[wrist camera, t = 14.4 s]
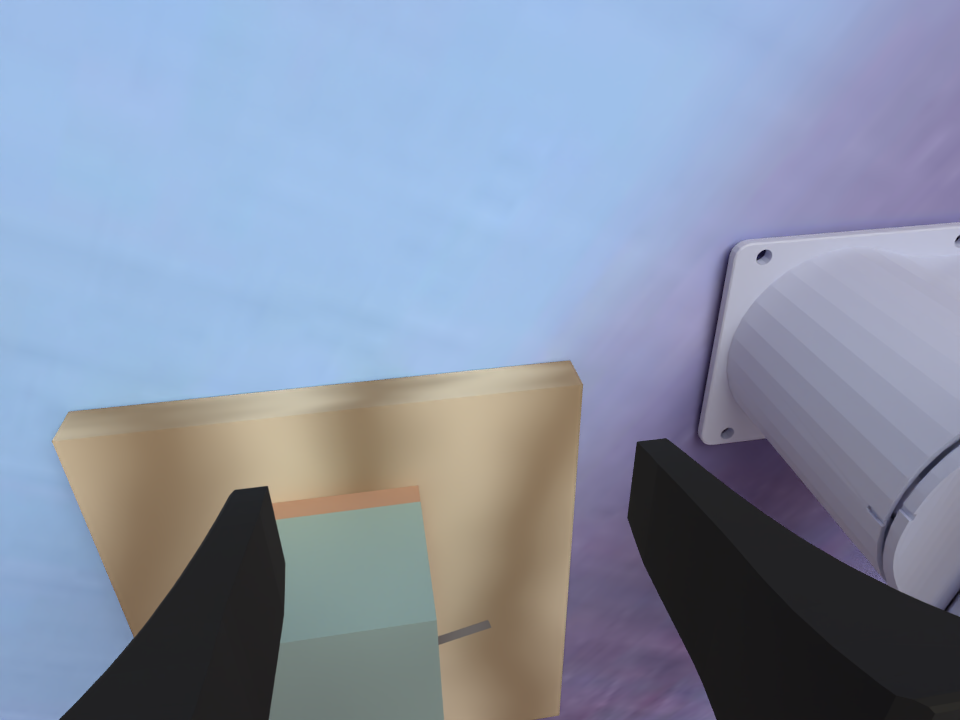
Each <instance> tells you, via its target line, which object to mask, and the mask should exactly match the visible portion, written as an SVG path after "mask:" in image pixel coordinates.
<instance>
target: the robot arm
mask: <svg viewBox="0 0 960 720" xmlns="http://www.w3.org/2000/svg"><path fill="white" fill-rule="evenodd" d="M959 235H960V222H956V223H944V224H932V225H920V226H907V227H895V228H883V229H871V230H859V231H846V232H834V233H822V234H810V235H798V236H785V237H773V238H761V239H749V240H744V241H741V242H739V243H738V244H736V245H735V246H734V248H733V249H732V250H731V253H730V256H729V262H728V267H727V273H726V278H725V284H724V289H723V295H722V300H721V306H720V311H719V317H718V322H717V328H716V334H715V339H714V345H713V350H712V356H711V361H710V367H709V372H708V378H707V383H706V389H705V394H704V400H703V405H702V411H701V417H700V422H699V428H698V435H699V437H700V438H701V440H702V441H703V443H705V444H707V445H716V444H724V443H732V442H741V441H749V440H757V439H765V438H766V439H767V440H768V441H769V442H770V443H771V445H772V446H773V447H774V448H775V449H776V451H777V452H778V453H779V454H780V455H781V457H782V458H783V459H784V460H785V461H786V463H787V464H788V465H789V466H790V467H791V469H792V470H793V471H794V472H795V473H796V475H797V476H798V477H799V478H800V479H801V481H802V482H803V483H804V484H805V485H806V487H807V488H808V489H809V490H810V491H811V493H812V494H813V495H814V496H815V497H816V499H817V500H818V501H819V502H820V503H821V505H822V506H823V507H824V508H825V509H826V511H827V512H828V513H829V514H830V515H831V517H832V518H833V519H834V520H835V522H836V523H837V524H838V525H839V526H840V528H841V529H842V530H843V531H844V532H845V534H846V535H847V536H848V537H849V538H850V540H851V541H852V542H853V543H854V544H855V546H856V547H857V548H858V549H859V550H860V552H861V553H862V554H863V555H864V556H865V558H866V559H867V560H868V561H869V562H870V564H871V565H872V566H873V567H874V568H875V570H876V571H877V572H878V573H879V574H880V576H881V577H882V578H883V579H884V580H885V582H886V583H887V585H886V584H884V583H882V582H880V581H878V580H876V579H874V578H872V577H870V576H868V575H866V574H864V573H862V572H860V571H858V570H856V569H854V568H852V567H850V566H849V565H847V564H845V563H843V562H841V561H839V560H838V559H836V558H834V557H833V556H831V555H829V554H827V553H826V552H824V551H822V550H820V549H819V548H817V547H815V546H813V545H812V544H810V543H808V542H807V541H805V540H804V539H802V538H800V537H799V536H797V535H796V534H794V533H793V532H791V531H790V530H788V529H787V528H785V527H784V526H782V525H781V524H779V523H778V522H776V521H775V520H773V519H772V518H770V517H769V516H767V515H766V514H764V513H763V512H762V511H760V510H759V509H757V508H756V507H754V506H753V505H752V504H750V503H749V502H748V501H746V500H745V499H743V498H742V497H741V496H739V495H738V494H737V493H735V492H734V491H733V490H731V489H730V488H729V487H728V486H726V485H725V484H724V483H722V482H721V481H720V480H718V479H717V478H716V477H715V476H713V475H712V474H711V473H710V472H708V471H707V470H706V469H705V468H703V467H702V466H701V465H699V464H698V463H697V462H696V461H694V460H693V459H692V458H691V457H689V456H688V455H687V454H686V453H684V452H683V451H682V450H681V449H679V448H678V447H677V446H676V445H674V444H673V443H672V442H670V441H669V440H668V439H666V438H664V439H656V440H648V441H639V442H637V446H636V453H635V461H634V469H633V477H632V485H631V493H630V501H629V509H628V517H627V518H628V521H629V524H630V527H631V530H632V533H633V536H634V538H635V541H636V544H637V547H638V550H639V552H640V555H641V558H642V561H643V563H644V565H645V567H646V569H647V572H648V574H649V576H650V578H651V580H652V582H653V584H654V586H655V588H656V590H657V592H658V594H659V596H660V598H661V600H662V602H663V604H664V606H665V608H666V610H667V611H668V613H669V615H670V617H671V619H672V621H673V623H674V625H675V627H676V629H677V631H678V633H679V635H680V637H681V639H682V641H683V643H684V645H685V647H686V649H687V651H688V653H689V655H690V657H691V659H692V661H693V663H694V665H695V667H696V670H697V672H698V674H699V676H700V678H701V681H702V683H703V686H704V688H705V691H706V693H707V696H708V698H709V701H710V704H711V706H712V709H713V711H714V714H715V717H716V719H717V720H960V237H959V239H958V240H957V241H956V242H955V240H956V238H957V237H958V236H959ZM763 250H766V253H765V255H764V256H763V257H762V258H761V259H759V260H756V258H757V256H758V254H759V253H760V252H761V251H763ZM726 428H728V430H727V431H725V432H723V433H722V431H723V430H724V429H726ZM285 564H286V563H285V559H284V554H283V550H282V546H281V541H280V537H279V532H278V528H277V524H276V519H275V515H274V510H273V506H272V502H271V497H270V493H269V488H268V486H262V487H254V488H246V489H237V490H234V491H233V492H232V493H231V494H230V495H229V497H228V499H227V500H226V502H225V504H224V506H223V508H222V509H221V511H220V513H219V515H218V517H217V518H216V520H215V522H214V523H213V525H212V527H211V528H210V530H209V532H208V533H207V535H206V537H205V538H204V540H203V542H202V543H201V545H200V546H199V548H198V550H197V551H196V553H195V554H194V556H193V557H192V559H191V560H190V562H189V563H188V565H187V566H186V568H185V569H184V571H183V572H182V574H181V576H180V577H179V579H178V580H177V581H176V583H175V584H174V586H173V587H172V588H171V590H170V591H169V593H168V594H167V595H166V597H165V598H164V599H163V601H162V602H161V603H160V605H159V606H158V608H157V609H156V610H155V612H154V613H153V614H152V616H151V617H150V618H149V620H148V621H147V622H146V624H145V625H144V626H143V627H142V629H141V630H140V631H139V632H138V634H137V635H136V636H135V637H134V639H133V640H132V641H131V642H130V644H129V645H128V646H127V647H126V648H125V649H124V651H123V652H122V653H121V654H120V655H119V656H118V658H117V659H116V660H115V661H114V662H113V663H112V665H111V666H110V667H109V668H108V669H107V670H106V671H105V672H104V673H103V675H102V676H101V677H100V678H99V679H98V680H97V681H96V682H95V683H94V684H93V685H92V686H91V687H90V688H89V689H88V691H87V692H86V693H85V694H84V695H83V696H82V697H81V698H80V699H79V700H78V701H77V702H76V703H75V704H74V705H73V706H72V707H71V708H70V709H69V710H68V711H67V712H66V713H65V714H64V715H63V716H62V717H61V718H60V719H59V720H269V715H270V708H271V701H272V695H273V688H274V681H275V674H276V668H277V661H278V654H279V647H280V640H281V633H282V626H283V619H284V605H285Z"/></svg>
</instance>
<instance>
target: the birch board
mask: <svg viewBox="0 0 960 720" xmlns="http://www.w3.org/2000/svg"><path fill="white" fill-rule="evenodd" d="M582 390H583V384H582V382H581V380H580V378H579V376H578V374H577V372H576V370H575V369H574V367H573V365H572V363H571V361H560V362H550V363H540V364H531V365H521V366H511V367H501V368H492V369H482V370H472V371H462V372H452V373H443V374H433V375H423V376H413V377H404V378H394V379H384V380H374V381H364V382H355V383H345V384H335V385H325V386H316V387H306V388H296V389H286V390H276V391H267V392H257V393H247V394H237V395H228V396H218V397H208V398H198V399H188V400H179V401H169V402H159V403H149V404H140V405H130V406H120V407H110V408H101V409H91V410H81V411H71V412H68V414H67V416H66V417H65V419H64V421H63V423H62V424H61V426H60V428H59V430H58V432H57V433H56V435H55V437H54V439H53V440H52V443H53V445H54V447H55V450H56V452H57V455H58V457H59V459H60V462H61V464H62V467H63V469H64V471H65V474H66V476H67V478H68V481H69V483H70V486H71V488H72V490H73V493H74V495H75V498H76V500H77V502H78V505H79V507H80V509H81V512H82V514H83V517H84V519H85V521H86V524H87V526H88V529H89V531H90V533H91V536H92V538H93V541H94V543H95V545H96V548H97V550H98V552H99V555H100V557H101V560H102V562H103V564H104V567H105V569H106V572H107V574H108V576H109V579H110V581H111V583H112V586H113V588H114V591H115V593H116V595H117V598H118V600H119V603H120V605H121V607H122V610H123V612H124V614H125V617H126V619H127V622H128V624H129V626H130V629H131V631H132V634H133V636H134V637H135V636H136V635H137V634H138V632H139V631H140V630H141V629H142V627H143V626H144V625H145V624H146V622H147V621H148V620H149V618H150V617H151V616H152V614H153V613H154V612H155V610H156V609H157V608H158V606H159V605H160V603H161V602H162V601H163V599H164V598H165V597H166V595H167V594H168V593H169V591H170V590H171V588H172V587H173V586H174V584H175V583H176V581H177V580H178V579H179V577H180V576H181V574H182V572H183V571H184V569H185V568H186V566H187V565H188V563H189V562H190V560H191V559H192V557H193V556H194V554H195V553H196V551H197V550H198V548H199V546H200V545H201V543H202V542H203V540H204V538H205V537H206V535H207V533H208V532H209V530H210V528H211V527H212V525H213V523H214V522H215V520H216V518H217V517H218V515H219V513H220V511H221V509H222V508H223V506H224V504H225V502H226V500H227V499H228V497H229V495H230V494H231V493H232V492H233V491H234V490H237V489H246V488H254V487H262V486H268V488H269V493H270V497H271V502H272V503H278V502H287V501H295V500H303V499H311V498H319V497H327V496H335V495H344V494H352V493H360V492H368V491H376V490H384V489H393V488H401V487H409V486H417V485H418V486H419V494H420V501H421V508H422V516H423V523H424V530H425V538H426V545H427V552H428V560H429V567H430V575H431V582H432V589H433V597H434V604H435V611H436V619H437V631H438V645H439V658H440V672H441V686H442V699H443V713H444V720H535V719H541V718H546V717H552V716H558V715H559V711H560V697H561V683H562V669H563V655H564V641H565V627H566V613H567V599H568V585H569V571H570V557H571V543H572V529H573V515H574V501H575V487H576V474H577V460H578V446H579V432H580V418H581V404H582Z"/></svg>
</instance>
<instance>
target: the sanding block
mask: <svg viewBox="0 0 960 720" xmlns="http://www.w3.org/2000/svg"><path fill="white" fill-rule="evenodd" d="M272 506H273V510H274V515H275V519H276V524H277V528H278V532H279V537H280V541H281V546H282V550H283V554H284V559H285V563H286V564H285V605H284V619H283V626H282V633H281V640H280V647H279V654H278V661H277V668H276V674H275V681H274V688H273V695H272V701H271V708H270V715H269V720H444V713H443V699H442V686H441V672H440V658H439V645H438V631H437V619H436V611H435V604H434V597H433V589H432V582H431V575H430V567H429V560H428V552H427V545H426V538H425V530H424V523H423V516H422V508H421V501H420V494H419V486H418V485H417V486H409V487H401V488H393V489H384V490H376V491H368V492H360V493H352V494H344V495H335V496H327V497H319V498H311V499H303V500H295V501H287V502H278V503H272Z"/></svg>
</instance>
